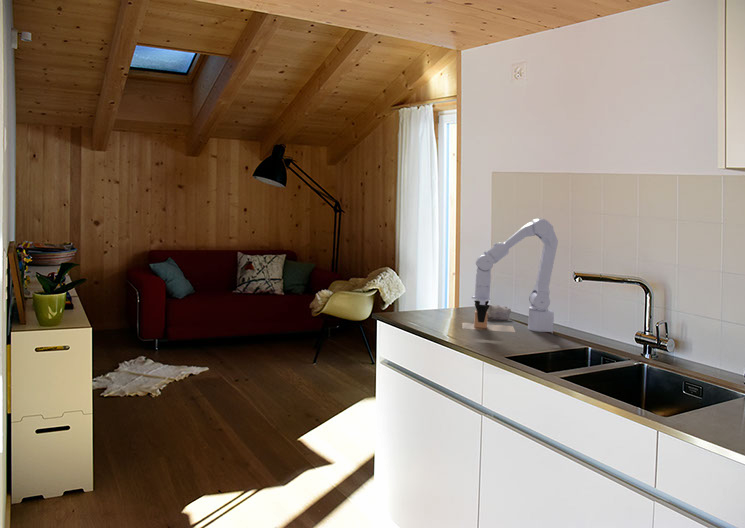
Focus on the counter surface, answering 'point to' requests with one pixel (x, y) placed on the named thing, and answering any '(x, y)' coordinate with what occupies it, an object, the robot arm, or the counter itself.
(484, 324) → the light orange block
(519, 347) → the counter surface
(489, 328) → the board
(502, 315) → the stone
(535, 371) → the counter surface
